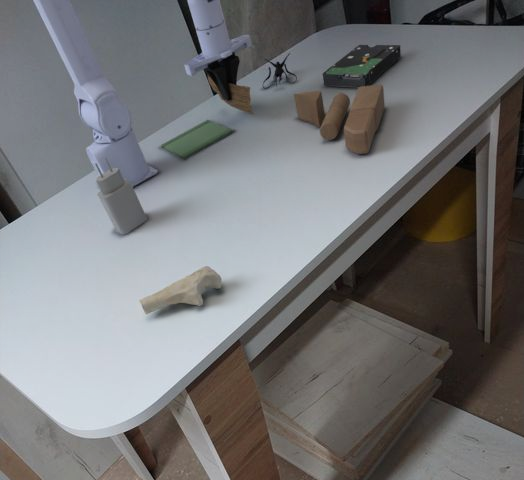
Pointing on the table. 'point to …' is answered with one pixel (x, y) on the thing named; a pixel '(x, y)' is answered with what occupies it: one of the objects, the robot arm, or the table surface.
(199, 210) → the table surface
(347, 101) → the wooden block set
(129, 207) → the power adapter
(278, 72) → the creature
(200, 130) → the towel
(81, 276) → the table surface
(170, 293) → the bone fragment
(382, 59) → the disk drive
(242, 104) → the wood plank
